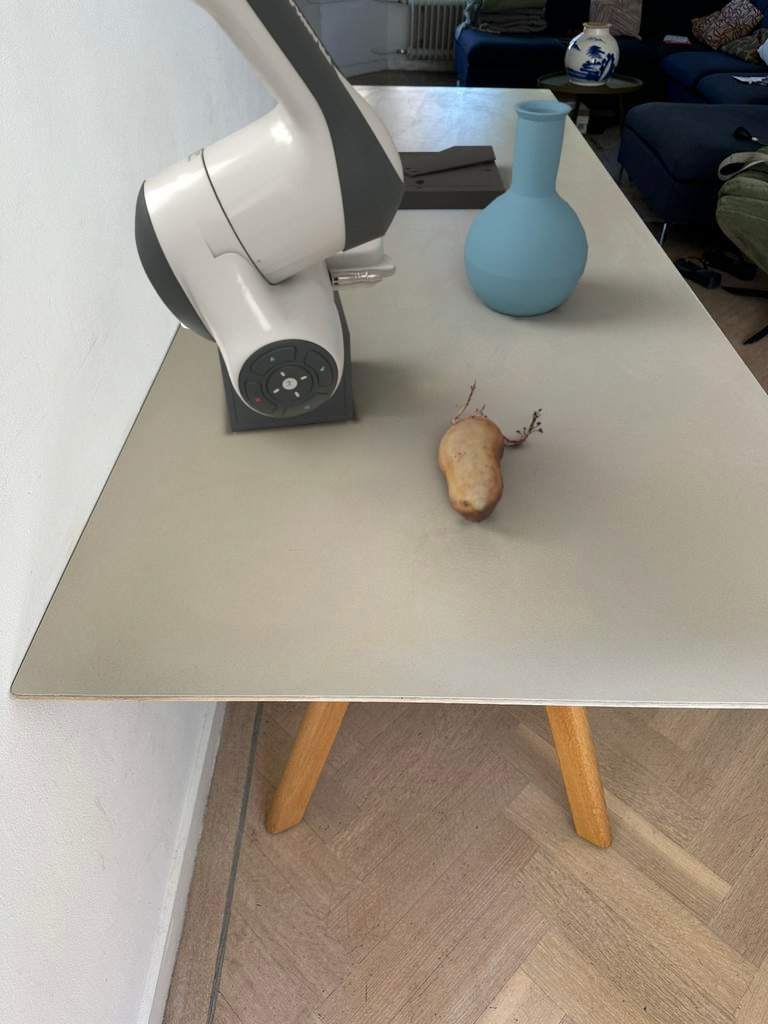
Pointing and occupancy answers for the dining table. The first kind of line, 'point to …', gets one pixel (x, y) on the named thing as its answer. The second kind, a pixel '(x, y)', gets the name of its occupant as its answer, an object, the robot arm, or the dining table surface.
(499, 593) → the dining table surface
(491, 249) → the vase
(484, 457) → the vegetable
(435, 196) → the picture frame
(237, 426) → the gray open box
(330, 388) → the robot arm
